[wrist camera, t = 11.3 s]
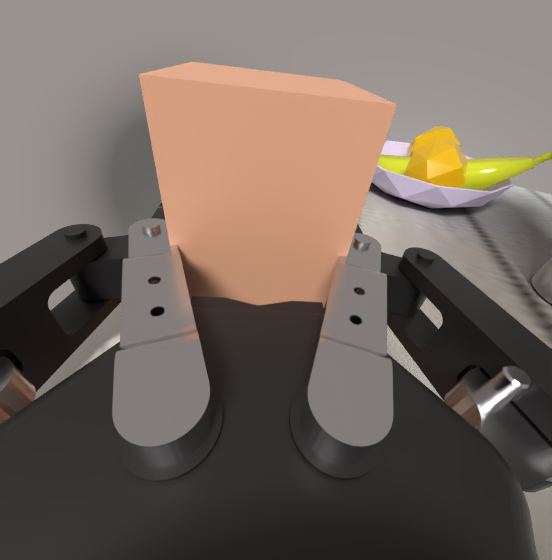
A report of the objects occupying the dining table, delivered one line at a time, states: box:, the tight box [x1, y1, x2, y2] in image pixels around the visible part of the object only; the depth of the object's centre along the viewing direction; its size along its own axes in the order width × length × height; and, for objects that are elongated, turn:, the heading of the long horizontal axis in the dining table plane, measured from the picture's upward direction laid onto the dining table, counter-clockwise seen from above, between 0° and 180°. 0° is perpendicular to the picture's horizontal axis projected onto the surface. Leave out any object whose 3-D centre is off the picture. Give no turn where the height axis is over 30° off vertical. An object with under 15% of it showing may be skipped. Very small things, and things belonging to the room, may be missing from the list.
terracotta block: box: [139, 62, 397, 305], centre depth 11 cm, size 5×5×12 cm
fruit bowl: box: [372, 126, 552, 208], centre depth 50 cm, size 28×27×11 cm
